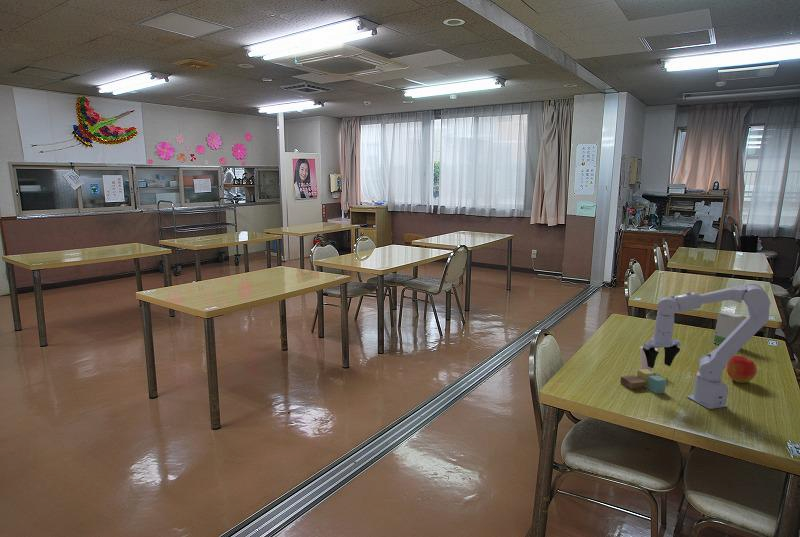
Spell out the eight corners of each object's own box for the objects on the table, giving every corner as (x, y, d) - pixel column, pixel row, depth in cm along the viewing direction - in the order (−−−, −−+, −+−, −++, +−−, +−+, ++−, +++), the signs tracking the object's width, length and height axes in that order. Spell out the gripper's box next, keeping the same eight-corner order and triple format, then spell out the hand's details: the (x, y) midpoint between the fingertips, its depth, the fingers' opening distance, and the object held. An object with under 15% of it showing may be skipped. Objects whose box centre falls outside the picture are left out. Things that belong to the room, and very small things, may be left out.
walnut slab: (644, 389, 174) (645, 381, 173) (631, 390, 173) (632, 383, 172) (633, 382, 180) (634, 375, 179) (620, 383, 178) (620, 376, 178)
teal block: (664, 392, 171) (666, 379, 170) (655, 393, 170) (657, 380, 169) (655, 387, 175) (657, 375, 174) (647, 388, 174) (648, 376, 173)
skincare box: (712, 343, 224) (717, 311, 221) (720, 341, 227) (725, 310, 224) (730, 349, 217) (735, 316, 214) (739, 347, 219) (744, 315, 216)
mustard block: (652, 385, 177) (654, 373, 176) (644, 386, 176) (645, 374, 175) (644, 381, 181) (646, 368, 180) (636, 382, 180) (637, 369, 179)
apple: (743, 388, 176) (747, 363, 174) (718, 378, 184) (721, 354, 182) (759, 384, 179) (764, 359, 177) (734, 374, 188) (738, 351, 186)
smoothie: (657, 374, 187) (661, 341, 184) (639, 373, 188) (643, 339, 185) (652, 368, 193) (656, 335, 190) (635, 366, 194) (639, 334, 191)
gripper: (670, 325, 174) (666, 360, 176) (638, 328, 170) (634, 363, 172) (687, 331, 167) (681, 367, 170) (653, 334, 163) (649, 371, 166)
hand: (658, 366), depth 171 cm, fingers open, 7 cm apart
